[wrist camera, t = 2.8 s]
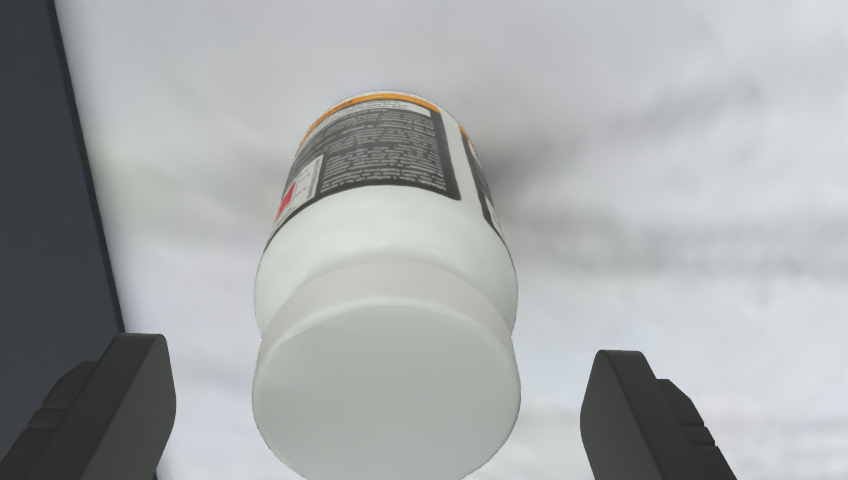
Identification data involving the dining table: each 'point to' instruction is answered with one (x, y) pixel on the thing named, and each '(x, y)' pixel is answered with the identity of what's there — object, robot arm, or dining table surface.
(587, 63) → the dining table surface
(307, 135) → the pill bottle
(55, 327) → the placemat
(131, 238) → the dining table surface
